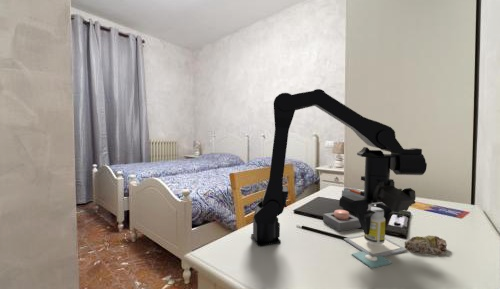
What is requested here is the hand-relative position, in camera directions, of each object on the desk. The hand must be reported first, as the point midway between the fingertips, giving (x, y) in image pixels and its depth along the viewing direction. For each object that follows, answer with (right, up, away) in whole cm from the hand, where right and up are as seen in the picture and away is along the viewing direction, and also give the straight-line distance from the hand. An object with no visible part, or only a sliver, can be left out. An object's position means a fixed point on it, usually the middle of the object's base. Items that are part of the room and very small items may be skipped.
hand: (374, 232), depth 64 cm
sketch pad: (0, -3, 0) cm, 3 cm away
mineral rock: (+12, -4, -1) cm, 13 cm away
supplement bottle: (0, -2, 0) cm, 2 cm away
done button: (-3, -1, +14) cm, 14 cm away
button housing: (-3, -2, +14) cm, 14 cm away
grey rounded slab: (+6, -2, +26) cm, 26 cm away
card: (-4, -4, -6) cm, 8 cm away
